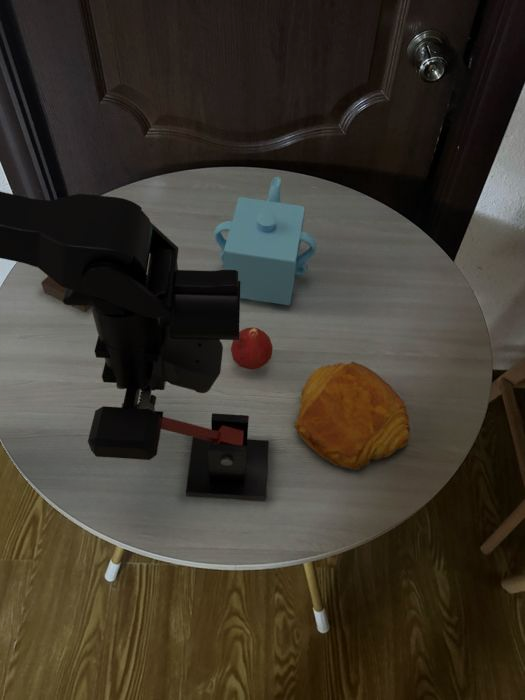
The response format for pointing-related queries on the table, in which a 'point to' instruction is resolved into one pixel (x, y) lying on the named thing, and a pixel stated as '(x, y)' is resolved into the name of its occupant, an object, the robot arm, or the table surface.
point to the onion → (252, 348)
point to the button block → (58, 291)
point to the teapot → (265, 246)
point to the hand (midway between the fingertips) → (146, 413)
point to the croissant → (351, 415)
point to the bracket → (228, 464)
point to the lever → (202, 430)
